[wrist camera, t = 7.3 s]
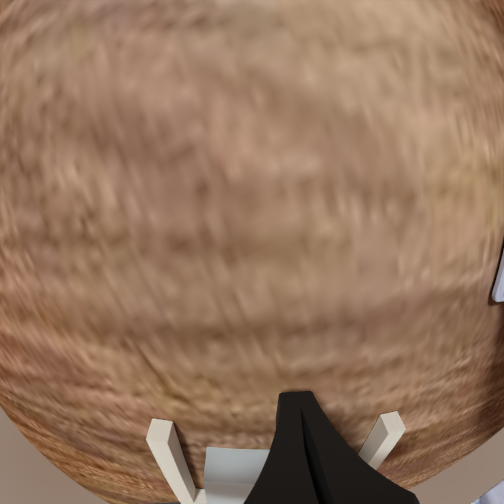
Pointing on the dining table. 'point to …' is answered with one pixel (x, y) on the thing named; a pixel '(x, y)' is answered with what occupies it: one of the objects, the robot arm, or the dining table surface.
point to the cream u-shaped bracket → (193, 499)
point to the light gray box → (231, 474)
